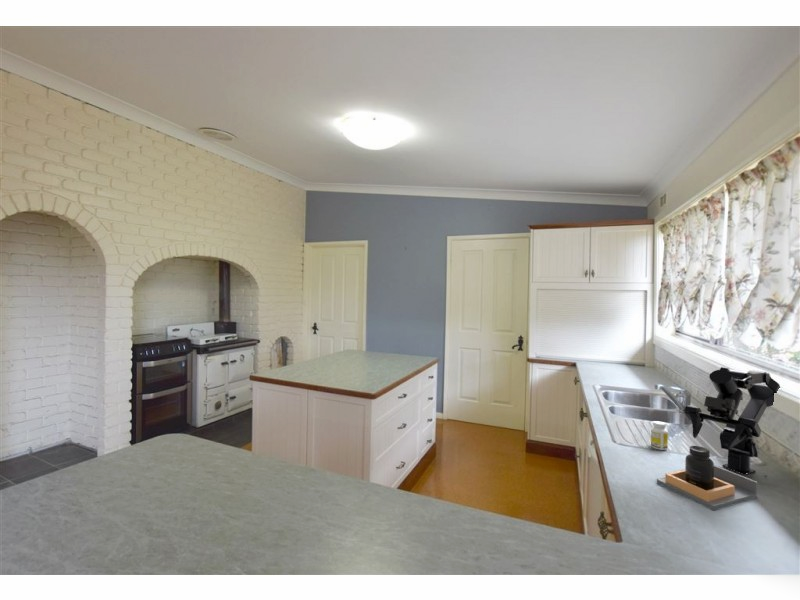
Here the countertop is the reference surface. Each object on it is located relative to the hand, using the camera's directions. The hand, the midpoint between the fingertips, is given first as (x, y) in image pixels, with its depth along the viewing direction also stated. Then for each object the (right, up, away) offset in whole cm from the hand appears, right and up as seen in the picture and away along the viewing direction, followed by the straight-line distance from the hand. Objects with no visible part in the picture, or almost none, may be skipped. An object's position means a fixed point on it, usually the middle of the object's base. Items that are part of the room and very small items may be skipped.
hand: (711, 442), depth 118 cm
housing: (-4, -14, -3) cm, 15 cm away
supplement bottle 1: (+3, -13, +29) cm, 32 cm away
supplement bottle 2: (-7, -13, -4) cm, 15 cm away
